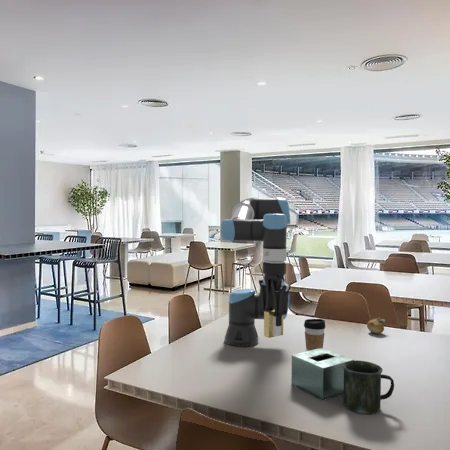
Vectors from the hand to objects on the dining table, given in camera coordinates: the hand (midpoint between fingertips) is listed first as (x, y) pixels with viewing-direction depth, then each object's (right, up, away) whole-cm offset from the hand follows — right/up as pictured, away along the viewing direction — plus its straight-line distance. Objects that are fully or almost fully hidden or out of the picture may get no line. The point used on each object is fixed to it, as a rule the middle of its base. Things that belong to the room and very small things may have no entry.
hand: (273, 334), depth 129 cm
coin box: (+16, -18, +2) cm, 25 cm away
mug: (+26, -19, -11) cm, 34 cm away
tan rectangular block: (0, 0, 0) cm, 0 cm away
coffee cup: (+20, -18, +31) cm, 41 cm away
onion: (+58, -18, +67) cm, 90 cm away
